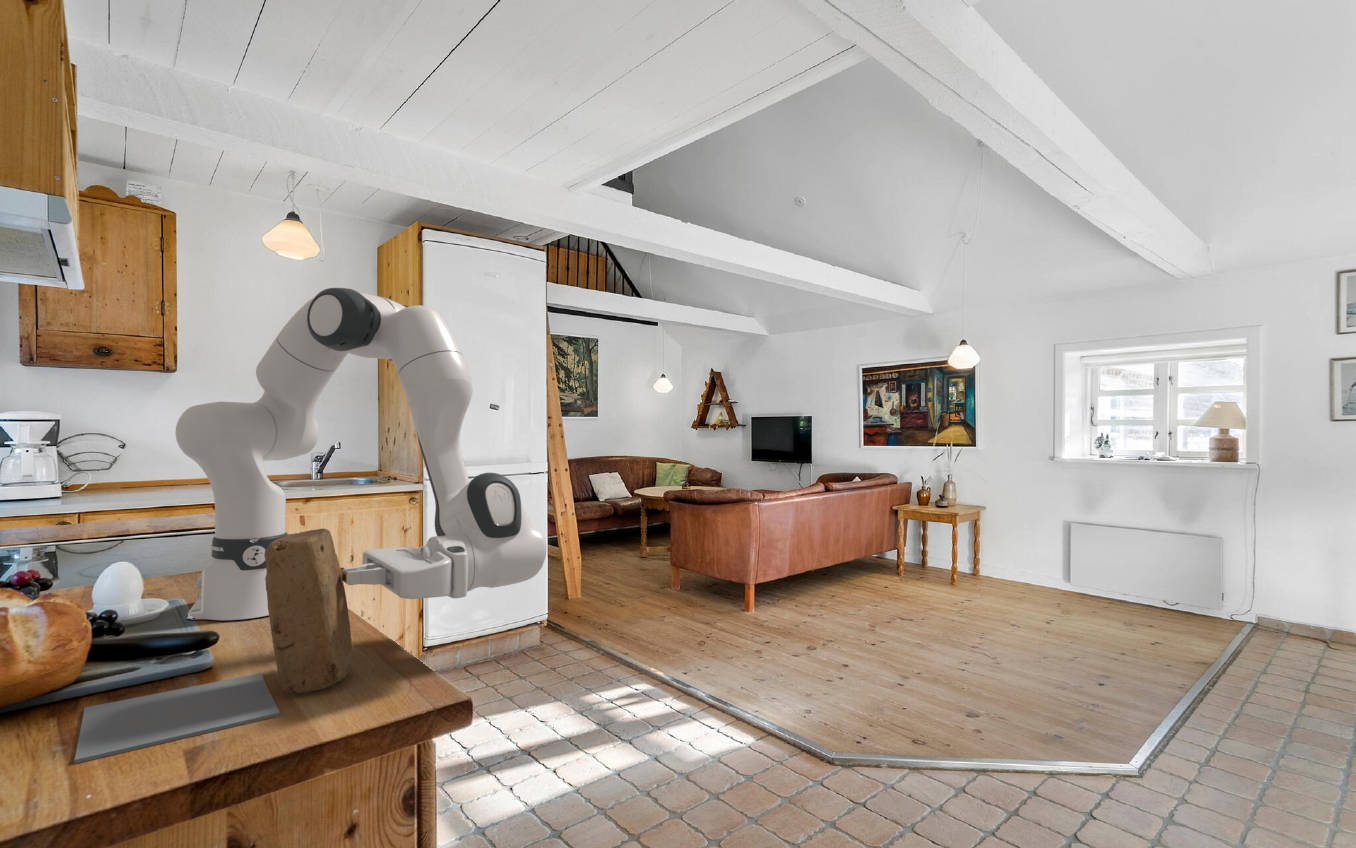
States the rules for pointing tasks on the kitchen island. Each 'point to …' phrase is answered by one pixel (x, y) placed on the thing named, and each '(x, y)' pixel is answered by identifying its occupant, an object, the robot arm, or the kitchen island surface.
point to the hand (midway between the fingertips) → (343, 577)
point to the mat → (172, 716)
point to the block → (307, 611)
